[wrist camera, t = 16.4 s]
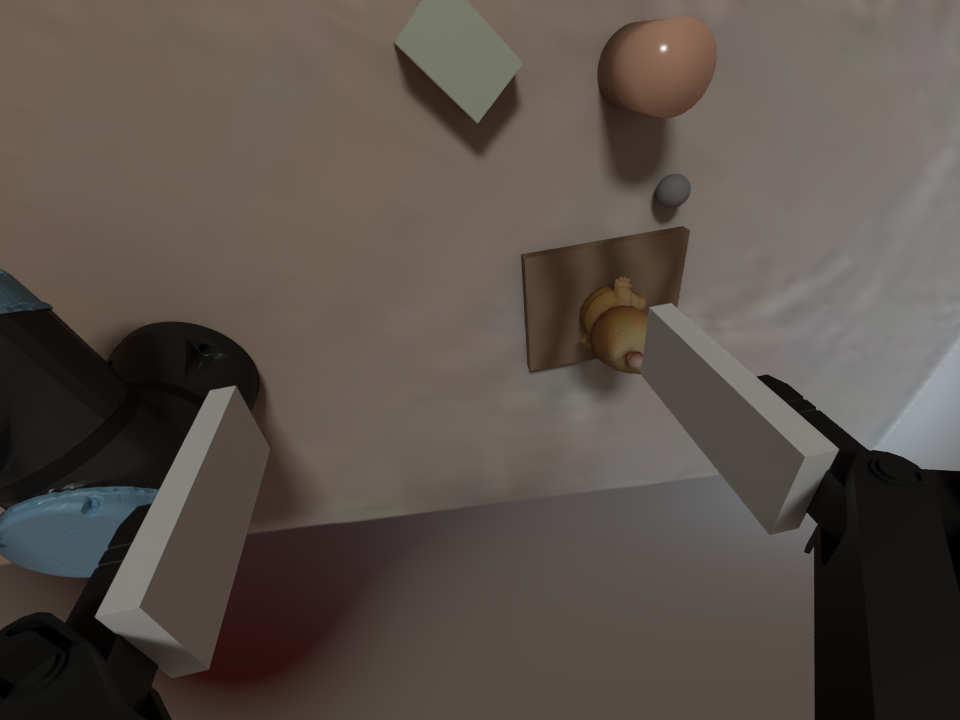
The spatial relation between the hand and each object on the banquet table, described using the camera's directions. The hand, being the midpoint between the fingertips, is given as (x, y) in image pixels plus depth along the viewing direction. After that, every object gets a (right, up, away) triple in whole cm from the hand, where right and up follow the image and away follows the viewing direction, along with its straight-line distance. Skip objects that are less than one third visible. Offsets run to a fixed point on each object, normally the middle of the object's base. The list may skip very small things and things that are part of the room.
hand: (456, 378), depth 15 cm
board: (+16, +8, +43) cm, 47 cm away
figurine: (+16, +7, +42) cm, 45 cm away
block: (-2, +28, +26) cm, 38 cm away
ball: (+22, +20, +36) cm, 47 cm away
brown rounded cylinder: (+15, +29, +29) cm, 44 cm away
